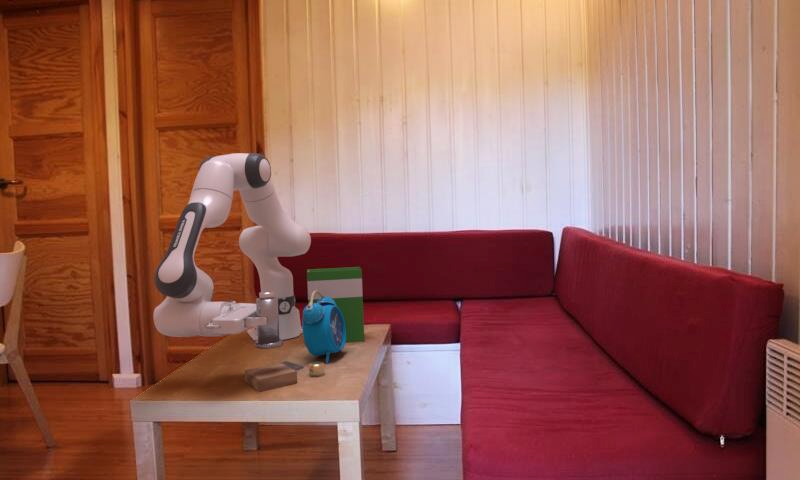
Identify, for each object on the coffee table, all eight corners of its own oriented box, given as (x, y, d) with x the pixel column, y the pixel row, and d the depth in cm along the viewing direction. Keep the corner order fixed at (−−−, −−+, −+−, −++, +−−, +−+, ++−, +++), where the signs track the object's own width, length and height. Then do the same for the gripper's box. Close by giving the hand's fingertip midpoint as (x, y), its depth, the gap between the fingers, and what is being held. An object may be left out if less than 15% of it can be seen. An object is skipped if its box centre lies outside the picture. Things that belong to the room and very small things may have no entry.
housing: (250, 344, 139) (248, 292, 138) (276, 340, 143) (274, 289, 142) (260, 350, 133) (258, 295, 132) (287, 345, 137) (285, 292, 136)
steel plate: (268, 370, 151) (268, 366, 151) (286, 365, 155) (286, 361, 155) (286, 375, 145) (285, 371, 145) (303, 370, 150) (303, 365, 150)
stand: (245, 381, 139) (244, 370, 139) (281, 373, 145) (281, 362, 145) (259, 391, 131) (258, 379, 131) (297, 382, 137) (296, 371, 137)
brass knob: (306, 374, 144) (306, 363, 144) (320, 371, 146) (319, 360, 146) (313, 378, 141) (312, 366, 141) (327, 375, 143) (326, 363, 143)
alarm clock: (334, 365, 151) (331, 295, 150) (299, 364, 153) (296, 295, 152) (351, 349, 168) (348, 286, 166) (319, 349, 170) (316, 286, 168)
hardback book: (362, 336, 185) (359, 266, 183) (364, 341, 178) (361, 269, 176) (310, 340, 182) (307, 269, 181) (310, 345, 175) (306, 272, 173)
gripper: (200, 314, 128) (257, 313, 127) (232, 299, 148) (281, 298, 147) (201, 341, 128) (258, 340, 127) (233, 322, 148) (282, 321, 147)
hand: (271, 317), depth 137 cm, fingers closed on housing, 5 cm apart
